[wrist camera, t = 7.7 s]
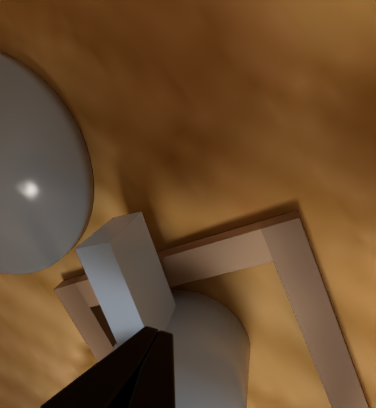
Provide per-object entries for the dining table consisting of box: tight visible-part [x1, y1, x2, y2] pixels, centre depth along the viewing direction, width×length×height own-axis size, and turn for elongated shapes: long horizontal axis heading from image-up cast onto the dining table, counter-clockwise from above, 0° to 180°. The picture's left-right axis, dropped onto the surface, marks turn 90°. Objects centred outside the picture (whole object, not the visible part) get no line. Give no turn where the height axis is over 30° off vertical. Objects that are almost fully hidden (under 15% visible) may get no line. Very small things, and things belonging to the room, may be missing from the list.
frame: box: [54, 210, 369, 408], centre depth 15 cm, size 13×13×1 cm
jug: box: [75, 212, 250, 408], centre depth 13 cm, size 12×6×6 cm, turn 18°
